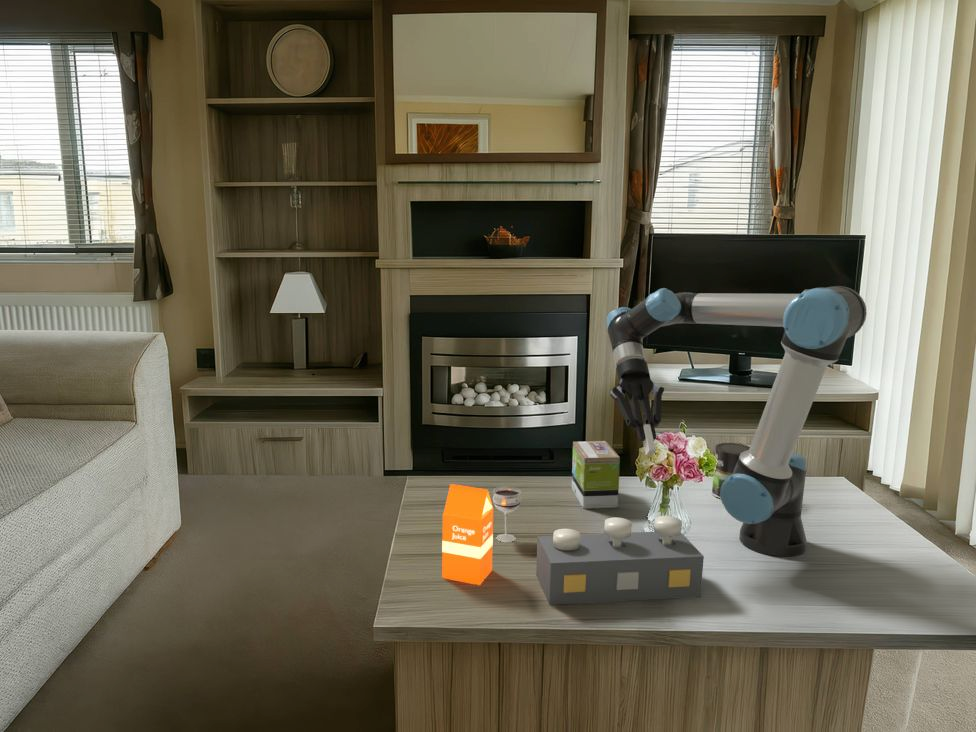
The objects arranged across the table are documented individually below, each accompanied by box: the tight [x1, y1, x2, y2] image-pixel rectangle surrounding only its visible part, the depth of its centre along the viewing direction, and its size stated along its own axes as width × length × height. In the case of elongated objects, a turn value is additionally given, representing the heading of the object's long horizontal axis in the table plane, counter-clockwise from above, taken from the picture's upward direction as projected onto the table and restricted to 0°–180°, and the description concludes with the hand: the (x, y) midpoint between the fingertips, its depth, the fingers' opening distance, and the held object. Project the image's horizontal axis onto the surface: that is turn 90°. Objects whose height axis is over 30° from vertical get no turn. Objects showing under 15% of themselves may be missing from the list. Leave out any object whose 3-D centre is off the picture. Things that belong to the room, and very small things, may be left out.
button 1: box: [552, 528, 581, 551], centre depth 159 cm, size 6×6×7 cm
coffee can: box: [711, 442, 750, 500], centre depth 214 cm, size 10×10×14 cm
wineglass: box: [492, 485, 522, 543], centre depth 182 cm, size 7×7×12 cm
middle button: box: [603, 516, 633, 547], centre depth 160 cm, size 6×6×7 cm
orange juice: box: [441, 483, 494, 586], centre depth 163 cm, size 8×9×20 cm
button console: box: [535, 531, 705, 606], centre depth 160 cm, size 32×13×9 cm, turn 98°
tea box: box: [571, 440, 621, 510], centre depth 209 cm, size 15×10×15 cm
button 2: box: [653, 515, 683, 545], centre depth 161 cm, size 6×6×7 cm
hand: (650, 452), depth 170 cm, fingers closed
